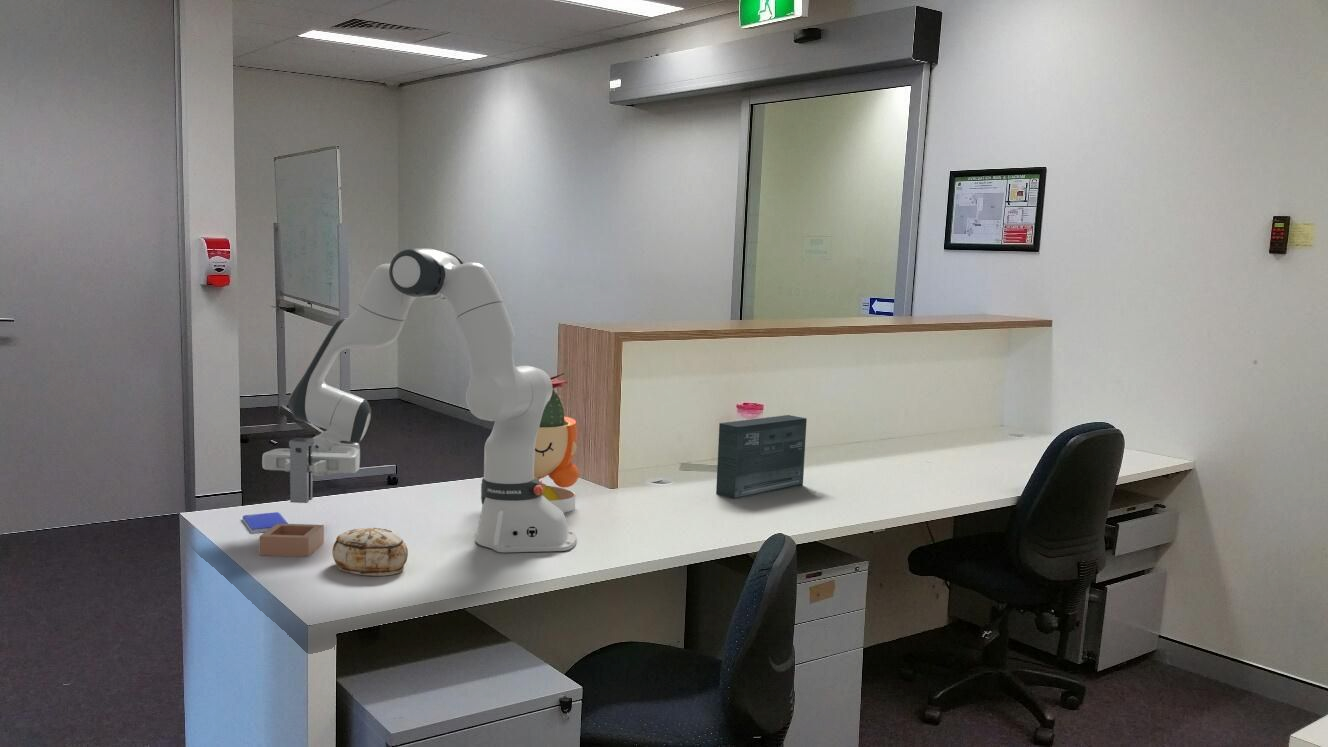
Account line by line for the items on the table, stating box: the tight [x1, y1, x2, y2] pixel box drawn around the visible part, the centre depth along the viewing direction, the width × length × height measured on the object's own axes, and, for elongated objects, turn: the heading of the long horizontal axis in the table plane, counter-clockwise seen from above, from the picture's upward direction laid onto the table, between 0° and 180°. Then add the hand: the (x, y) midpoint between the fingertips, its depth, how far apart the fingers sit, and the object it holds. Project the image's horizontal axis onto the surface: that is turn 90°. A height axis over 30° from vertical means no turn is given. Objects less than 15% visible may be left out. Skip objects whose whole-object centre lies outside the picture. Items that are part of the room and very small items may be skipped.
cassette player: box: [715, 414, 807, 500], centre depth 282 cm, size 29×7×20 cm, turn 133°
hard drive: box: [242, 511, 289, 534], centre depth 229 cm, size 2×8×12 cm
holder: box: [259, 523, 325, 557], centre depth 211 cm, size 10×10×4 cm
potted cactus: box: [534, 372, 580, 514], centre depth 256 cm, size 22×22×35 cm
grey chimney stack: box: [288, 437, 313, 504], centre depth 212 cm, size 4×4×13 cm
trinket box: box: [332, 527, 409, 577], centre depth 200 cm, size 13×15×8 cm
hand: (299, 468), depth 211 cm, fingers closed on grey chimney stack, 3 cm apart
